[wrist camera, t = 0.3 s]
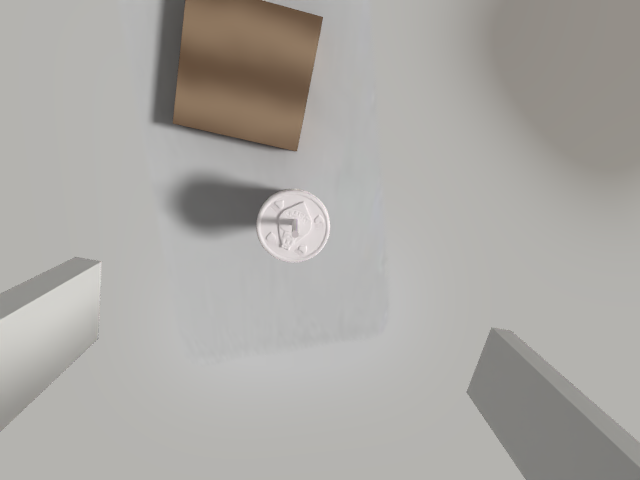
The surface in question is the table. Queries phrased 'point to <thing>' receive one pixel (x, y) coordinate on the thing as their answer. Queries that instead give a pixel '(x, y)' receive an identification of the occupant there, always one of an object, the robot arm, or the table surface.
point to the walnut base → (246, 69)
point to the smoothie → (293, 225)
